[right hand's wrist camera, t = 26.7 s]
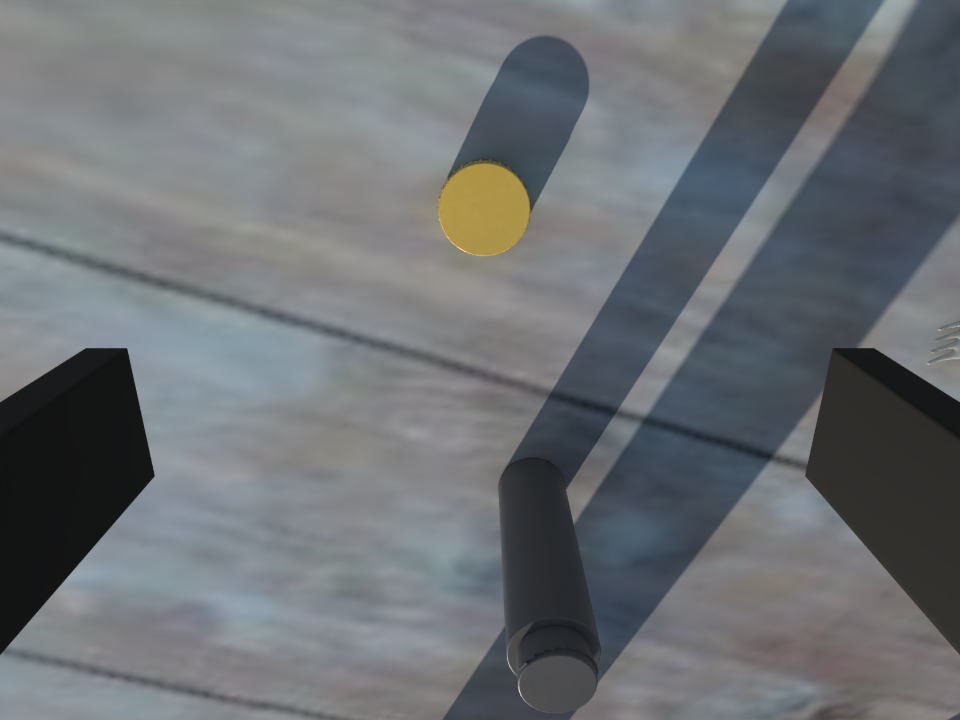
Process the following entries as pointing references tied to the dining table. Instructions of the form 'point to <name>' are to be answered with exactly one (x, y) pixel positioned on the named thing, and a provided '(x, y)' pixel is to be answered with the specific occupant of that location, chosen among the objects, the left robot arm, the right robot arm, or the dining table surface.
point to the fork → (957, 346)
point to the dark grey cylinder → (545, 591)
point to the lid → (484, 207)
